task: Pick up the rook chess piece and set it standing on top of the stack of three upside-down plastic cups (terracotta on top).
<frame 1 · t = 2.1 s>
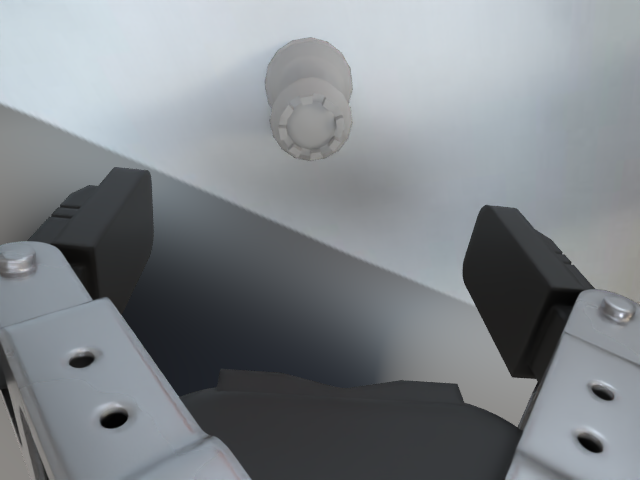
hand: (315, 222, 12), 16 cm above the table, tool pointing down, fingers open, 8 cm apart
rook chess piece: (308, 81, 26), on the table
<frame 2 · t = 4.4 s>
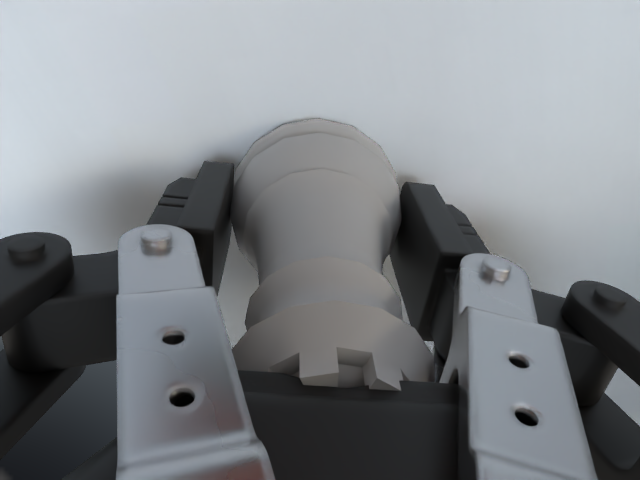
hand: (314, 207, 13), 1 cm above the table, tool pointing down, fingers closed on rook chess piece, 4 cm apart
rook chess piece: (314, 190, 14), on the table, touching gripper
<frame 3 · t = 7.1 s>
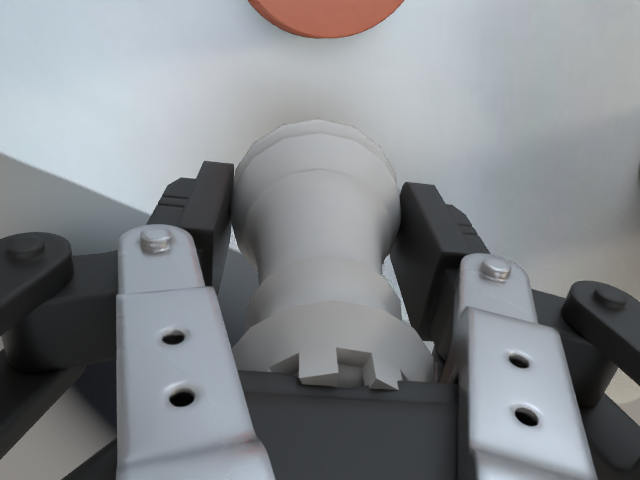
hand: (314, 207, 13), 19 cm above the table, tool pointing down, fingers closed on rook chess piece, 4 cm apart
rook chess piece: (314, 190, 14), point 18 cm above the table, touching gripper
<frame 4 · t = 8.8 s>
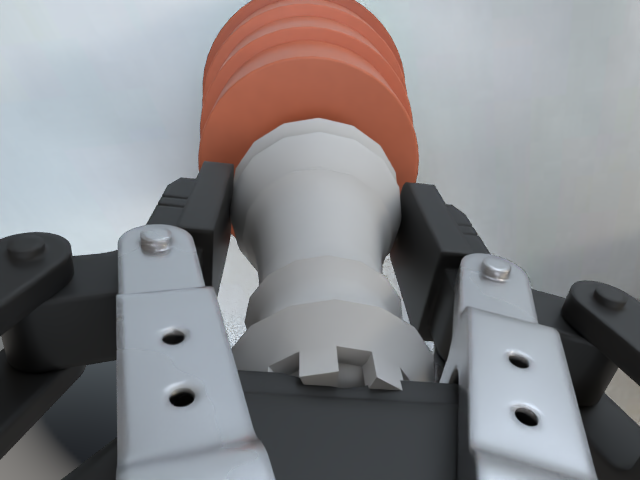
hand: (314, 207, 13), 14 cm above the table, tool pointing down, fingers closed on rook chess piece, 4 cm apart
cup stack: (303, 82, 25), on the table
rook chess piece: (314, 190, 14), point 13 cm above the table, touching gripper
when the fingers open (13 cm above the table, at t = 9.7 s): rook chess piece stays where it is, resting on cup stack.
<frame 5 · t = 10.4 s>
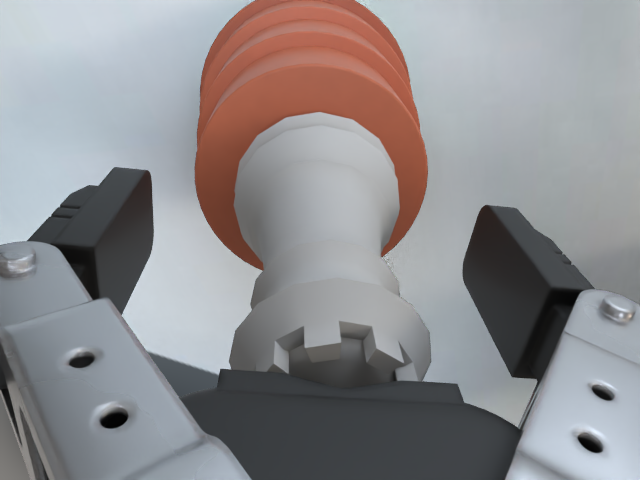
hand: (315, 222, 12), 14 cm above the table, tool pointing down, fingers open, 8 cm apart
cup stack: (304, 86, 24), on the table, touching rook chess piece
rook chess piece: (315, 182, 14), point 12 cm above the table, touching cup stack
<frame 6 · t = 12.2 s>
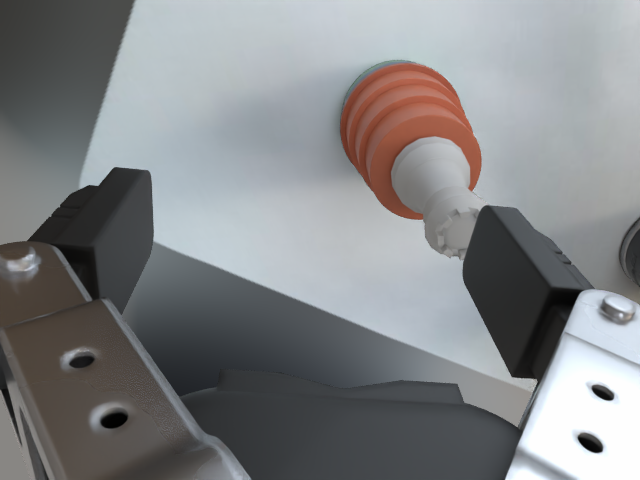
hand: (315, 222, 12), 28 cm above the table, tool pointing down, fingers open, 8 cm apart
cup stack: (394, 115, 40), on the table, touching rook chess piece
rook chess piece: (426, 169, 30), point 12 cm above the table, touching cup stack
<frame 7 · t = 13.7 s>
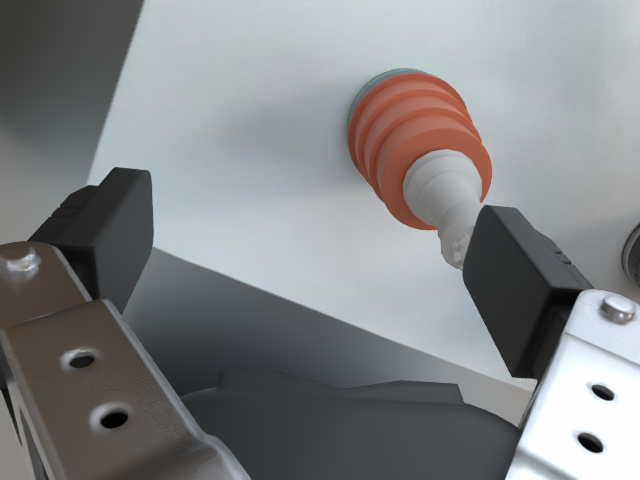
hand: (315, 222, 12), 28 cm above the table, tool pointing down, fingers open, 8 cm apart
cup stack: (400, 122, 40), on the table, touching rook chess piece
rook chess piece: (437, 180, 30), point 12 cm above the table, touching cup stack
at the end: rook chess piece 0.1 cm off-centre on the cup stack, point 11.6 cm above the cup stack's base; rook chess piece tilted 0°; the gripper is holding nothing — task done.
